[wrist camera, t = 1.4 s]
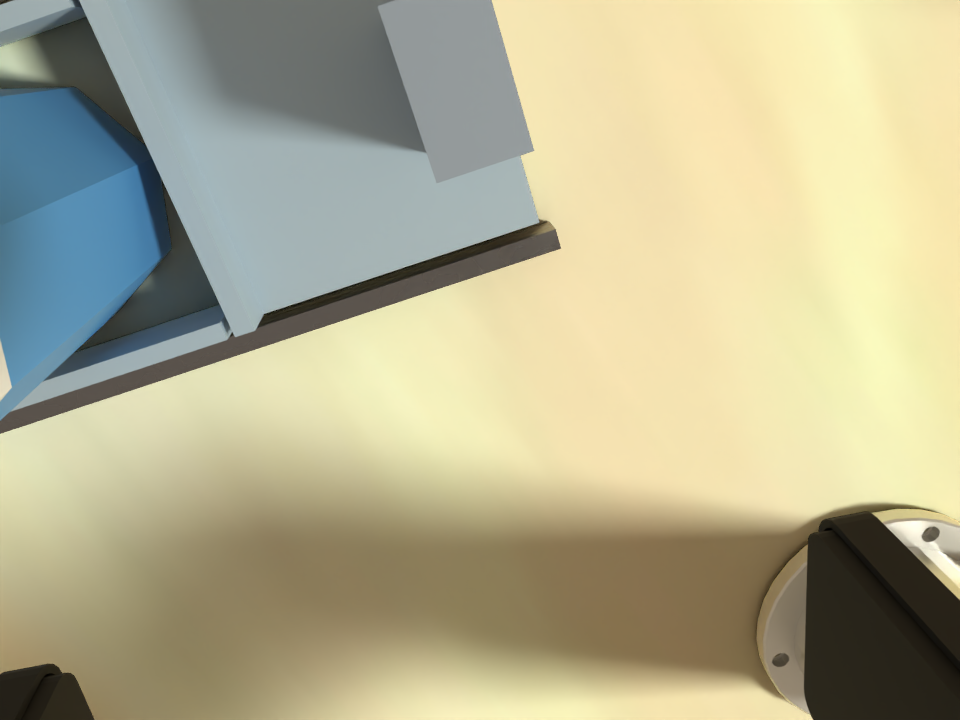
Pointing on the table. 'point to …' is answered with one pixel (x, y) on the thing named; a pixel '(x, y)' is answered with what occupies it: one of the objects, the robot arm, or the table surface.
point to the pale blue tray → (303, 145)
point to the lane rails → (311, 316)
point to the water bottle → (68, 229)
